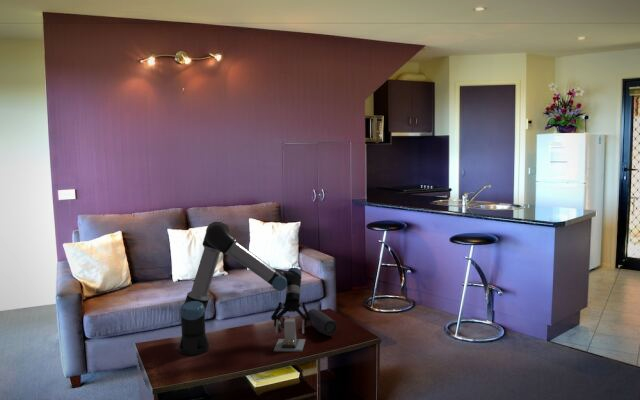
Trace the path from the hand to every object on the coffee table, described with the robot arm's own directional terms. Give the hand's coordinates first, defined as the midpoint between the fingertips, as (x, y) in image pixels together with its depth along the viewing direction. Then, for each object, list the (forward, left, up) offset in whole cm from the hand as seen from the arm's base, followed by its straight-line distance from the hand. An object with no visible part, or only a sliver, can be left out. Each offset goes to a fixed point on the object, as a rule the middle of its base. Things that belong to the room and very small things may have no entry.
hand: (289, 332), depth 266 cm
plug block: (0, +2, -6) cm, 7 cm away
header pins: (0, -4, -6) cm, 8 cm away
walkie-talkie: (-7, +31, -8) cm, 33 cm away
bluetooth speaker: (+14, +22, -7) cm, 27 cm away
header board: (0, 0, -7) cm, 7 cm away
